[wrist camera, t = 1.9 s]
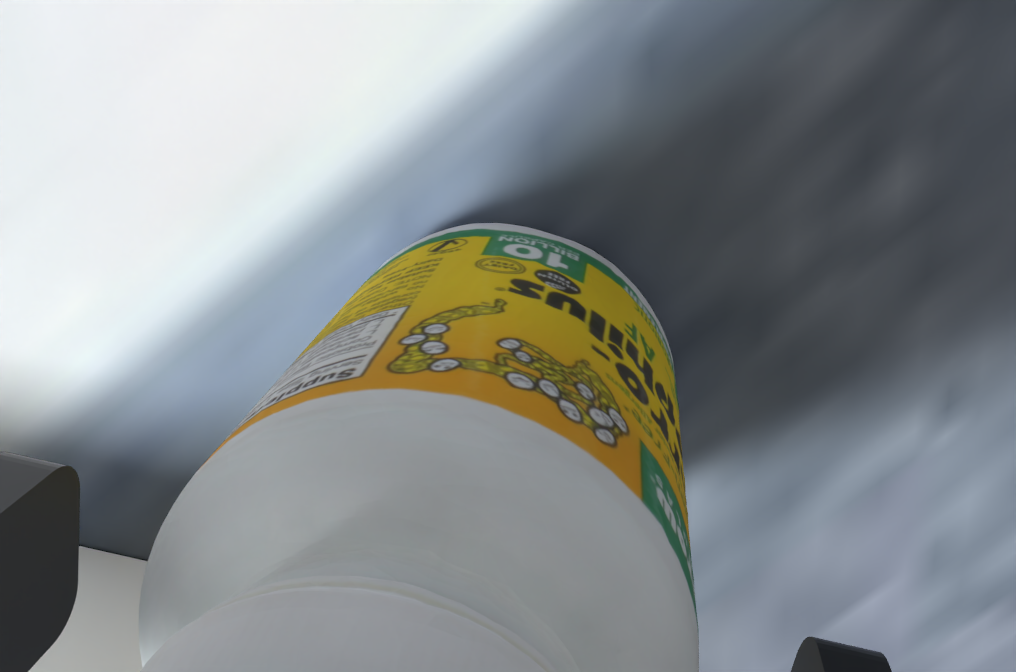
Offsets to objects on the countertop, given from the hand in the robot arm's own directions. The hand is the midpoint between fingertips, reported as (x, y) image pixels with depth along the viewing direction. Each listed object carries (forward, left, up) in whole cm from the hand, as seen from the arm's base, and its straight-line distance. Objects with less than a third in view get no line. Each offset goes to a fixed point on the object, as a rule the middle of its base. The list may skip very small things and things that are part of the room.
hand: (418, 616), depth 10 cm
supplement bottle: (-1, 0, -6) cm, 6 cm away
